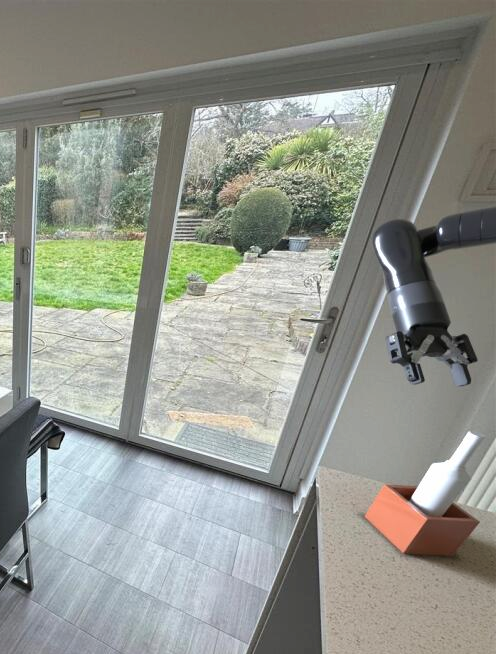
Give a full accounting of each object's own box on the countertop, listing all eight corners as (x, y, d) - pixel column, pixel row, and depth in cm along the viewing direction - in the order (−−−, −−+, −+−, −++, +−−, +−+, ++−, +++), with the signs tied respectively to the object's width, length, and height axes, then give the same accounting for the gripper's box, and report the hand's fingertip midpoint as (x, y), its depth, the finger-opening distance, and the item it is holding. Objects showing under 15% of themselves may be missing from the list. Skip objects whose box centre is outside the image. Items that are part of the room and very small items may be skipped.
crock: (409, 518, 88) (431, 486, 84) (453, 555, 79) (480, 521, 75) (364, 516, 88) (384, 484, 84) (403, 553, 79) (427, 519, 75)
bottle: (412, 547, 81) (487, 444, 69) (383, 528, 85) (449, 428, 74) (430, 542, 82) (506, 440, 71) (400, 523, 86) (467, 424, 75)
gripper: (399, 298, 80) (422, 376, 75) (473, 301, 80) (502, 379, 75) (365, 316, 87) (384, 388, 82) (434, 318, 87) (457, 391, 82)
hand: (440, 384), depth 78 cm, fingers open, 8 cm apart
